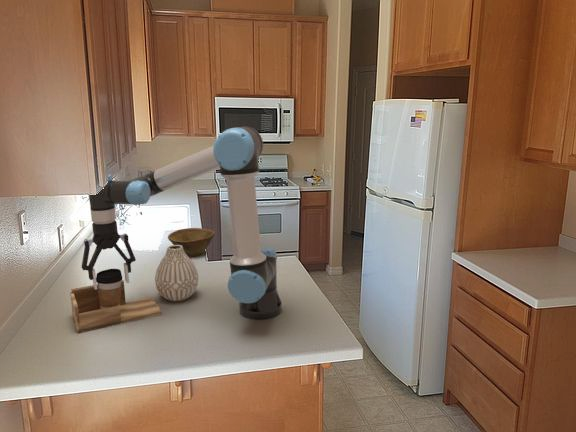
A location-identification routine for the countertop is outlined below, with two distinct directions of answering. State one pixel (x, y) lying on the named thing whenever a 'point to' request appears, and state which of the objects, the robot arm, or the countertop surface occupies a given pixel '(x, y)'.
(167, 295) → the vase
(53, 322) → the countertop surface
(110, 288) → the coffee cup
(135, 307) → the shelf
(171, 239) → the bowl
